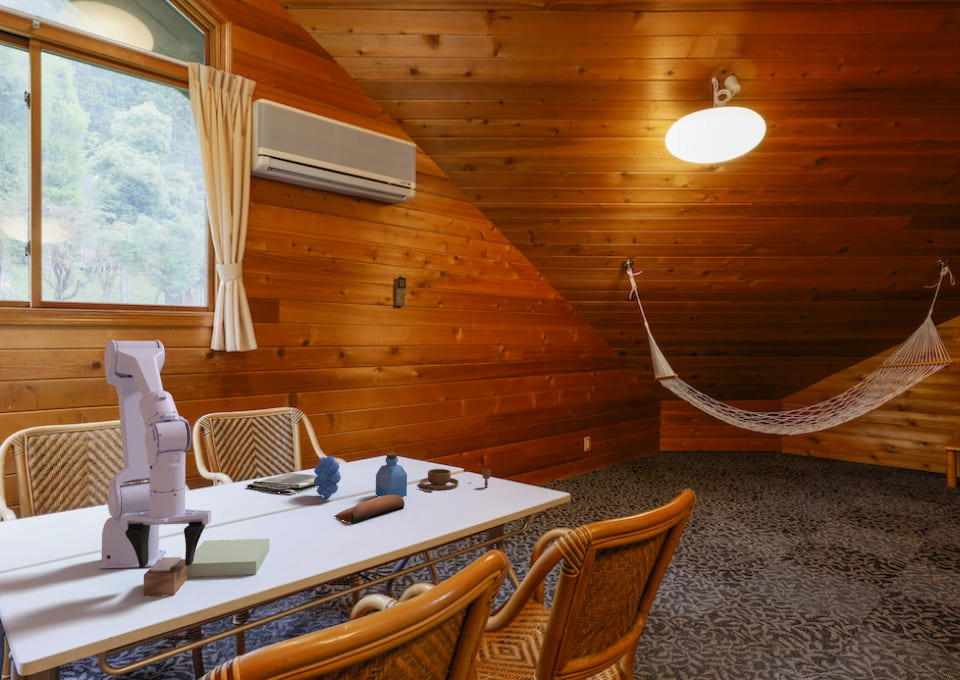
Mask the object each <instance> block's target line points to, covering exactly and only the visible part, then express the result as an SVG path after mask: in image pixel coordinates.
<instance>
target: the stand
mask: <svg viewBox="0 0 960 680" xmlns="http://www.w3.org/2000/svg"><path fill="white" fill-rule="evenodd" d="M270 540H271V539H270V538H246V539H245V538H244V539H243V538H242V539H214V540H203V541H202V542H201V544H200V545H199V546H198V548H197V547H196V550H195V554H194V559H193V563H192V564H191V565H190V566H187V578H191V577H190V576H203V577H220V576H221V577H224V576H225V577H226V576H227V577H228V576H246V574H253V575H257V574H256V573H258V571H259V570H260V569H261V567H260V566H262V564H264V562H265V559H266V558H267V556H268V554H269V553H270ZM266 555H267V556H266ZM265 557H266V558H265Z"/></svg>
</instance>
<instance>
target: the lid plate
mask: <svg viewBox="0 0 960 680" xmlns="http://www.w3.org/2000/svg"><path fill="white" fill-rule="evenodd" d="M181 559H182V557H181V556H177V557H175V556H174V557H172V556H171V557H169V556H168V557H163V556H162V557H161V558H160V559H159V560H160V561H158V562H157V563H156V564H155V565H154V566H153V567H152V566H151V567H152V568H151V567H150V568H151V573H172V572H173V571H174V570H175V569H176V568H177V566H178V565H179V564H180V563H181Z"/></svg>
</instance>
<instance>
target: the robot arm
mask: <svg viewBox="0 0 960 680" xmlns="http://www.w3.org/2000/svg"><path fill="white" fill-rule="evenodd" d="M165 356H166V352H165V347H164V344H163V343H162V342H161V340H159V339H155V340H114V339H110V340H109V341H107V343H106V344H105V348H104V362H103V363H104V371H105V378H106V384H109V385H111V386H113V387H115V390H116V394H117V398H118V409H119V423H120V435H121V448H122V460H123V461H122V462H123V463H122V464H123V468H122V469H120V471H119V472H117V473H116V474H114V475H113V477H111V478H110V480H109V482H108V493H107V507H108V508H107V509H108V513H109V516H111V517H108V518H107V519H106V521H105V522H104V524H103V527H102V531H101V532H102V533H101V564H100V565H99V568H100V569H119V568H121V569H122V568H145V567H146V568H149V567H150V568H151V567H152V566H153V565H154V564H155V563H156V562H157V561H158V560H161V559H162V558H163V556H164V555H166V553H167V550H165V549H164V550H163V549H162V550H160V549H159V546H160V545H159V542H160V541H159V540H160V539H159V538H160V530H159V529H160V525H184V524H185V525H186V524H187V525H186V527H184V528H183V535H184V541H185V542H184V543H185V554H184V555H185V556H184V557H185V558H184V559H185V565H186V566H190V565H191V564H192V563H193V559H194V554H195V551H196V550H197V546H198V543H199V542H200V541H199V540H200V537H202V536H201V535H202V534H203V532H204V529H205V527H206V525H209V524H210V523H211V522H212V510H201V509H200V510H199V509H186V452H188V451H189V450H190V448H191V445H192V430H191V427H190V424H189V421H188V420H187V419H185V418H184V416H180V414H179V413H178V410H177V407H176V404H175V401H174V399H173V396H172V394H171V393H170V392H168V391H167V390H166V391H165V390H164V389H163V383H162V378H161V371H162V368H163V366H164V364H165V359H166V357H165ZM129 483H130V484H129Z"/></svg>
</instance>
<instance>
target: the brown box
mask: <svg viewBox="0 0 960 680" xmlns="http://www.w3.org/2000/svg"><path fill="white" fill-rule="evenodd" d="M160 560H161V559H159V560H158V561H160ZM158 561H157V562H158ZM157 562H156V563H157ZM156 563H155V564H156ZM155 564H154V565H155ZM154 565H153V566H154ZM153 566H151V567H150V568H149V569H148V570H147V571H146V572H145V573H144V574H143V596H145V597H146V596H150V597H163V596H162V595H172V596H175V595H176V594H177V593H178V591H179V590H181V588H182V587H183V585H184V584H185V583H186V582H187V580H188V577H187V566H186V565H185V558H181V563H180V564H179V565H178V566H177V568H176V569H175V570H174V571H173V572H172V573H151V568H152V567H153ZM185 581H186V582H185ZM184 582H185V583H184ZM181 586H182V587H181ZM180 587H181V588H180ZM176 592H177V593H176ZM145 597H144V598H145Z"/></svg>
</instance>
